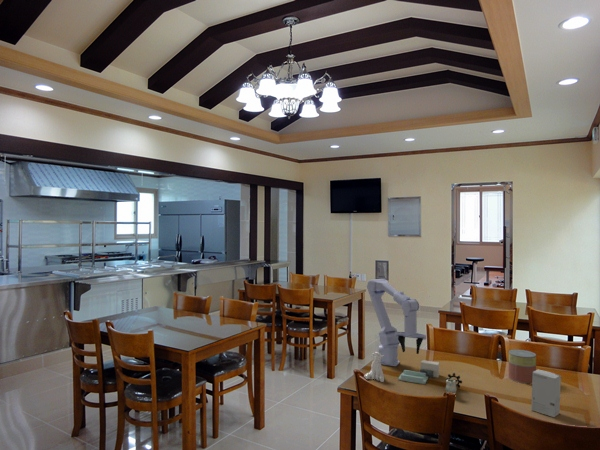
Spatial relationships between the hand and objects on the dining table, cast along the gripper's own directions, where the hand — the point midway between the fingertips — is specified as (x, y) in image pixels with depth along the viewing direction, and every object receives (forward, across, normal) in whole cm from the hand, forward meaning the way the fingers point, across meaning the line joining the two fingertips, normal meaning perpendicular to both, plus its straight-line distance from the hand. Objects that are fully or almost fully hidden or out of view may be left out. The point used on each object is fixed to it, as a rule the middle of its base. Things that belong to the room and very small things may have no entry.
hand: (410, 352), depth 199 cm
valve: (+10, +21, -17) cm, 29 cm away
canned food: (+10, +48, +13) cm, 51 cm away
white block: (+10, +9, 0) cm, 13 cm away
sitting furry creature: (+10, -13, -15) cm, 22 cm away
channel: (+9, +8, 0) cm, 12 cm away
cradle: (+9, +3, -9) cm, 13 cm away
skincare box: (+10, +55, -21) cm, 60 cm away
